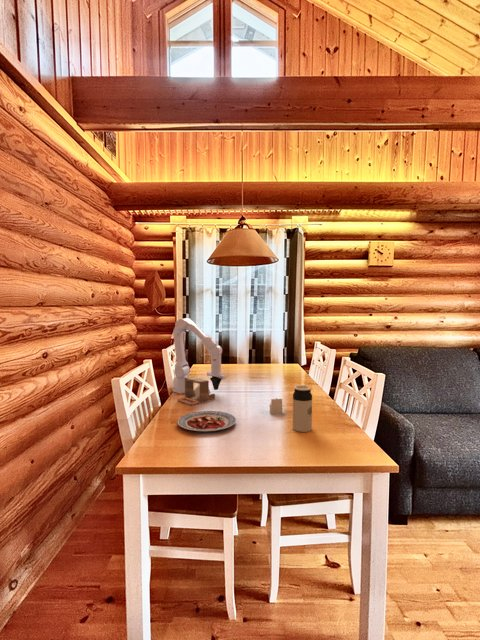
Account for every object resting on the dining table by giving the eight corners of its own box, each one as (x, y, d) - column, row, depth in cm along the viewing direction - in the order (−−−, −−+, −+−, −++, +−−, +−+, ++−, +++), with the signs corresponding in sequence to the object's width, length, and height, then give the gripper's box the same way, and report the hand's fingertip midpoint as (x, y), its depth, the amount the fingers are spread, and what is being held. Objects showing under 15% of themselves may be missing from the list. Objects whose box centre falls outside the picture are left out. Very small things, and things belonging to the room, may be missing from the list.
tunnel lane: (184, 397, 200) (184, 377, 199) (198, 394, 206) (198, 375, 206) (201, 402, 189) (201, 382, 188) (215, 399, 195) (214, 379, 195)
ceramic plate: (189, 440, 139) (189, 432, 139) (170, 420, 162) (170, 414, 162) (246, 429, 151) (246, 422, 151) (221, 412, 174) (221, 406, 174)
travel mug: (288, 428, 151) (289, 386, 150) (301, 424, 156) (301, 384, 155) (302, 434, 145) (303, 390, 144) (315, 429, 150) (316, 387, 149)
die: (212, 397, 201) (205, 383, 204) (212, 394, 193) (205, 378, 197) (199, 404, 199) (192, 389, 202) (198, 400, 191) (191, 384, 195)
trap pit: (178, 401, 192) (178, 398, 192) (185, 399, 196) (185, 397, 196) (191, 405, 184) (191, 403, 184) (199, 403, 187) (199, 401, 187)
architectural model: (268, 412, 174) (268, 397, 174) (282, 411, 176) (282, 396, 175) (270, 414, 171) (270, 399, 171) (284, 413, 172) (284, 398, 172)
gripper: (229, 367, 203) (229, 390, 204) (213, 363, 213) (213, 386, 214) (220, 368, 198) (220, 392, 199) (204, 365, 208) (204, 388, 209)
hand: (216, 389), depth 206 cm, fingers closed
